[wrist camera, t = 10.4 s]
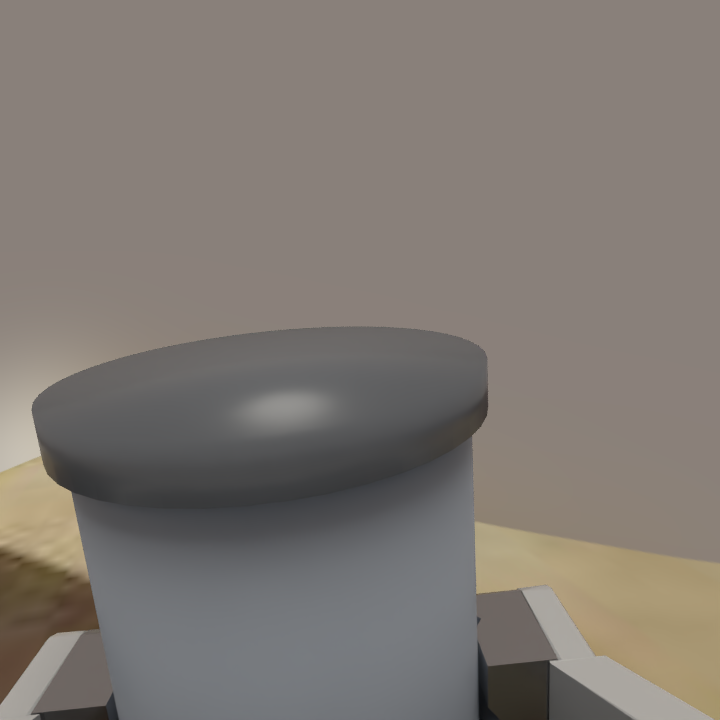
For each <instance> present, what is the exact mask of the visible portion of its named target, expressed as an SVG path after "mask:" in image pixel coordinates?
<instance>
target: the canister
mask: <svg viewBox="0 0 720 720" xmlns="http://www.w3.org/2000/svg"><path fill="white" fill-rule="evenodd" d="M487 411H488V373H487V356H486V354H485V351H484V350H483V349H481V348H480V347H479V346H477V345H476V344H474V343H472V342H470V341H468V340H465V339H463V338H460V337H456V336H452V335H448V334H443V333H438V332H433V331H425V330H417V329H406V328H390V327H322V328H303V329H289V330H278V331H267V332H258V333H249V334H242V335H233V336H227V337H219V338H213V339H206V340H201V341H196V342H189V343H184V344H179V345H173V346H168V347H164V348H159V349H155V350H151V351H146V352H142V353H138V354H134V355H130V356H127V357H123V358H119V359H116V360H113V361H109V362H106V363H103V364H100V365H97V366H94V367H91V368H88V369H86V370H83V371H80V372H78V373H75V374H74V375H71V376H69V377H67V378H65V379H62V380H60V381H59V382H57V383H55V384H53V385H52V386H50V387H48V388H47V389H46V390H44V391H43V392H42V393H41V394H39V395H38V397H37V398H36V399H35V401H34V402H33V405H32V414H33V419H34V424H35V428H36V433H37V437H38V442H39V447H40V451H41V456H42V460H43V465H44V467H45V469H46V472H47V474H48V475H49V476H50V477H51V478H52V479H53V480H54V481H55V482H56V483H57V484H58V485H60V486H62V487H64V488H66V489H68V490H70V491H71V492H72V497H73V502H74V506H75V511H76V516H77V521H78V526H79V530H80V535H81V540H82V545H83V550H84V554H85V559H86V564H87V569H88V574H89V578H90V583H91V588H92V593H93V598H94V602H95V607H96V612H97V617H98V622H99V626H100V631H101V636H102V641H103V646H104V650H105V655H106V660H107V665H108V670H109V674H110V679H111V684H112V689H113V694H114V698H115V703H116V708H117V713H118V718H119V720H480V718H479V680H478V642H477V604H476V567H475V529H474V492H473V456H472V435H473V434H474V433H475V432H476V431H477V430H478V429H479V428H480V427H481V425H482V423H483V422H484V420H485V418H486V416H487Z"/></svg>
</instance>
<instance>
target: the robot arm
mask: <svg viewBox="0 0 720 720" xmlns="http://www.w3.org/2000/svg"><path fill="white" fill-rule="evenodd" d="M476 604H477V642H478V680H479V718H480V720H714V719H713V718H711V717H709V716H707V715H706V714H704V713H702V712H701V711H699V710H697V709H695V708H694V707H692V706H690V705H689V704H687V703H685V702H684V701H682V700H680V699H678V698H677V697H675V696H673V695H672V694H670V693H668V692H666V691H665V690H663V689H661V688H660V687H658V686H656V685H655V684H653V683H651V682H649V681H648V680H646V679H644V678H643V677H641V676H639V675H637V674H636V673H634V672H632V671H631V670H629V669H627V668H626V667H624V666H622V665H620V664H619V663H617V662H615V661H614V660H612V659H610V658H608V657H607V656H595V654H594V653H593V651H592V650H591V648H590V647H589V645H588V644H587V642H586V640H585V639H584V637H583V636H582V634H581V633H580V631H579V630H578V628H577V627H576V625H575V624H574V622H573V620H572V619H571V617H570V616H569V614H568V613H567V611H566V610H565V608H564V607H563V605H562V604H561V602H560V600H559V599H558V597H557V596H556V594H555V593H554V591H553V590H552V588H551V587H549V586H547V585H541V586H533V587H526V588H518V589H517V590H509V591H500V592H490V593H480V594H476ZM0 720H119V718H118V713H117V708H116V703H115V698H114V694H113V689H112V684H111V679H110V674H109V670H108V665H107V660H106V655H105V650H104V646H103V641H102V636H101V631H100V629H98V630H88V631H76V632H65V633H57V634H55V635H53V636H51V637H49V639H48V640H47V641H46V642H45V644H44V645H43V647H42V648H41V649H40V651H39V652H38V654H37V655H36V656H35V658H34V659H33V660H32V662H31V663H30V665H29V666H28V667H27V669H26V670H25V672H24V673H23V674H22V676H21V677H20V678H19V680H18V681H17V683H16V684H15V685H14V687H13V688H12V689H11V691H10V692H9V694H8V695H7V696H6V698H5V699H4V701H3V702H2V703H1V705H0Z"/></svg>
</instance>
